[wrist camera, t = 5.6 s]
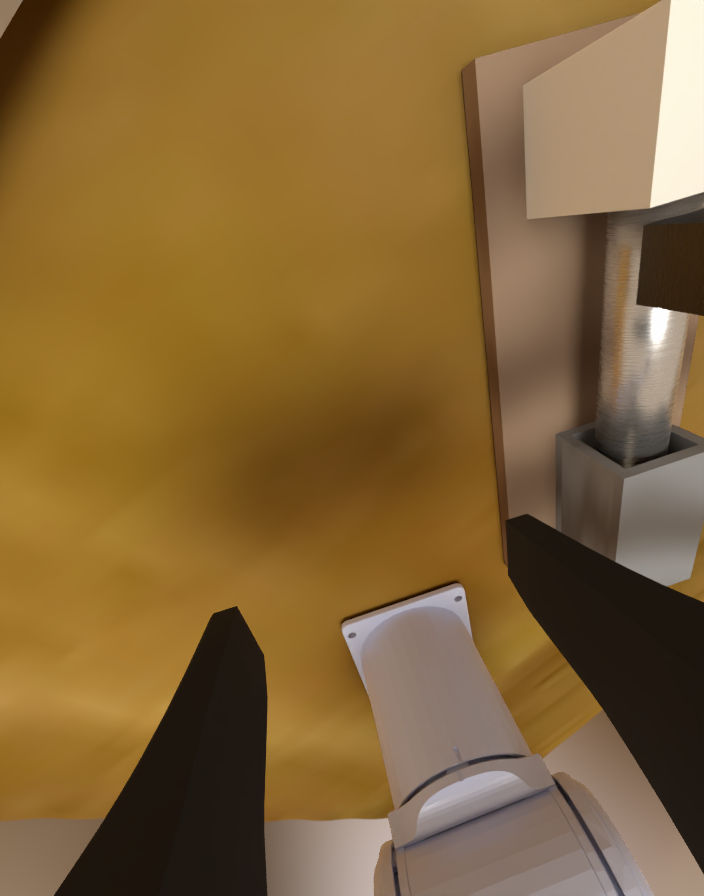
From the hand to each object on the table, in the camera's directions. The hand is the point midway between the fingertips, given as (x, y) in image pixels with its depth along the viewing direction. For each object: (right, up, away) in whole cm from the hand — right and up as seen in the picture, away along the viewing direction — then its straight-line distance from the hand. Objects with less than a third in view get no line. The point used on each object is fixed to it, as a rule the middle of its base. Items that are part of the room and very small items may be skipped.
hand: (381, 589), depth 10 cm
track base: (+11, +8, +9) cm, 16 cm away
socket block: (+9, +16, +5) cm, 18 cm away
